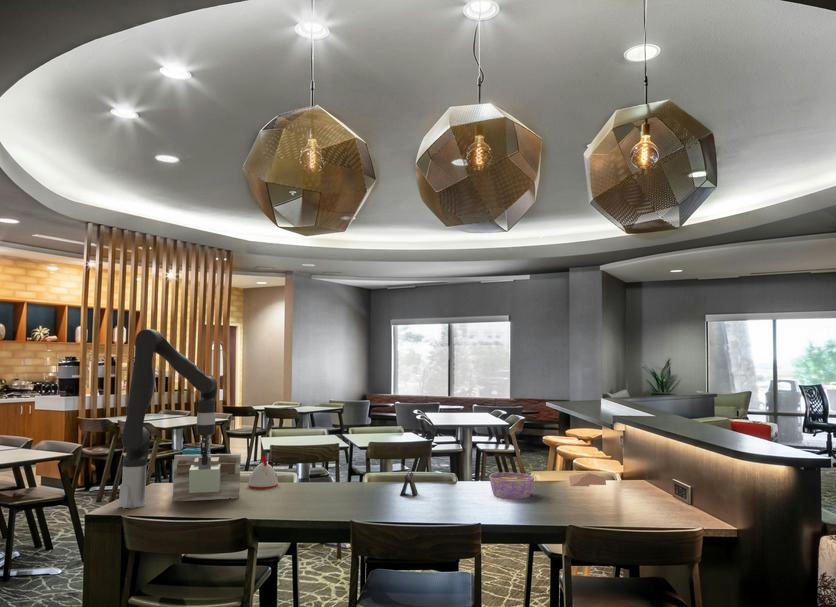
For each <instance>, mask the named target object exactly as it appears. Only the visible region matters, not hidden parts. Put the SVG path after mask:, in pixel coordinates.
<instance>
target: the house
mask: <svg viewBox="0 0 836 607" xmlns="http://www.w3.org/2000/svg"><path fill="white" fill-rule="evenodd" d="M592 485H593V486H606V485H607V481H606V477H603V476H600V475H597V474H594V473H589V472H586V473H581V474H575V475H570V476H569V486H570V487H587V488H588V487H589V488H590V486H592Z"/></svg>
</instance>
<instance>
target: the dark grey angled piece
mask: <svg viewBox="0 0 836 607" xmlns="http://www.w3.org/2000/svg"><path fill="white" fill-rule="evenodd" d="M408 484H409V487H410V491H411V496H412V497H417V496H418V494H419V492H418V490H417V489H418V488H417V486H416V483H415V481H414V473H413V472H407V473H406V475H405V476H404V483H403V486H402V489H401V491H400V495H399V497H404V496H405V495H406V492H407V488H408Z"/></svg>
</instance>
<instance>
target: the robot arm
mask: <svg viewBox="0 0 836 607" xmlns="http://www.w3.org/2000/svg"><path fill="white" fill-rule="evenodd" d="M154 353H156V354H157V355H159V356H161V357H162V358H163V359H164V360H165V361H166V362H167V363H168V364H169V365H170V366H171V368H172V369H173V370H174V371H176V372H177V373H178V374H179V375H180V376H182V377H183V378H184V379H186V381H188V382H189V383H190V385H192V386H193V388H194V389H196V390H197V391H198V392H199V393H200V398H199V400H198V401H197V413H196V414H197V415H196V435H197V436H201V438H200V439H199V443H200V444H199V445H200V449H201V455H202V465H207V459H208V455H209V452H210V453H211V442H212V438H210V435H215V433H216V413H215V412H216V397H217V393H218V392H217V391H218V382H217V379H216V378H215V377H214V376H211V375H206V374H204V373H203V372H202V371H201V370H200V369H201V368H200V367H198V365H196V364H195V363H193V361H191V360H190V359H189V358H187V357H186V356H185V355H184V354H182V353H181V352H179V351H178V350H177V349H176V348H175V347H174V346H173V345H172V344H171V343H170V342H169V341H168V340H167V339H166V338H165V337H164V336H163V334H162V333H161V332H160V331H159V330H156V329H154V328H153V329H151V328H144V329H141V330H139V331H138V333H137V334H136V337H135V341H134V361H133V362H134V363H133V368H132V374H131V379H130V380H131V382H130V387H129V395H128V402H127V410H126V412H127V413H126V418H125V422H124V427H123V430H122V434H121V444H122V446H123V448H124V449H126V454H125V456H124V458H123V460H122V477H121V479H122V481H121V484H119V496H118V497H119V498H118V500H119V502H118V507H119V506H120V507H124V508H131V509H137V508H136V507H139V508H142V506H143V507H145V506H144V505H146V486H147V485H146V483H147V463H148V458H149V454H150V442H151V441H150V440H151V439H150V438H151V437H150V432H149V430H148V429H147V428H146V427H144V423H145V422H144V421H145V417H146V414H147V411H148V410H149V406H150V404H151V402H152V399H153V395H154V394H153V393H154V388H155V377H154V371H153V370H154V369H153V356H154ZM120 507H119V508H120ZM124 508H123V509H124Z"/></svg>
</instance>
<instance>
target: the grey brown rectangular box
mask: <svg viewBox="0 0 836 607" xmlns="http://www.w3.org/2000/svg"><path fill="white" fill-rule="evenodd" d="M208 456H211V457H219V463H218V464H220V489H219V492H197V493H189V470H190V467H191V465H194V460H195V458H198V457H202V455H182V454H175V455H174V459H173V460H174V462H173V483H172V484H173V486H172V487H173V489H172V502H188V501H189V502H191V501H207V500H208V501H209V500H210V501H211V500H226V499H227V500H228V499H229V498H231V499H240V497H241V464H242V463H241V460H242V458H241V457H242V453H215V454H214V453H213V454H211V453H210V454H209V455H208ZM229 500H230V499H229Z"/></svg>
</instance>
